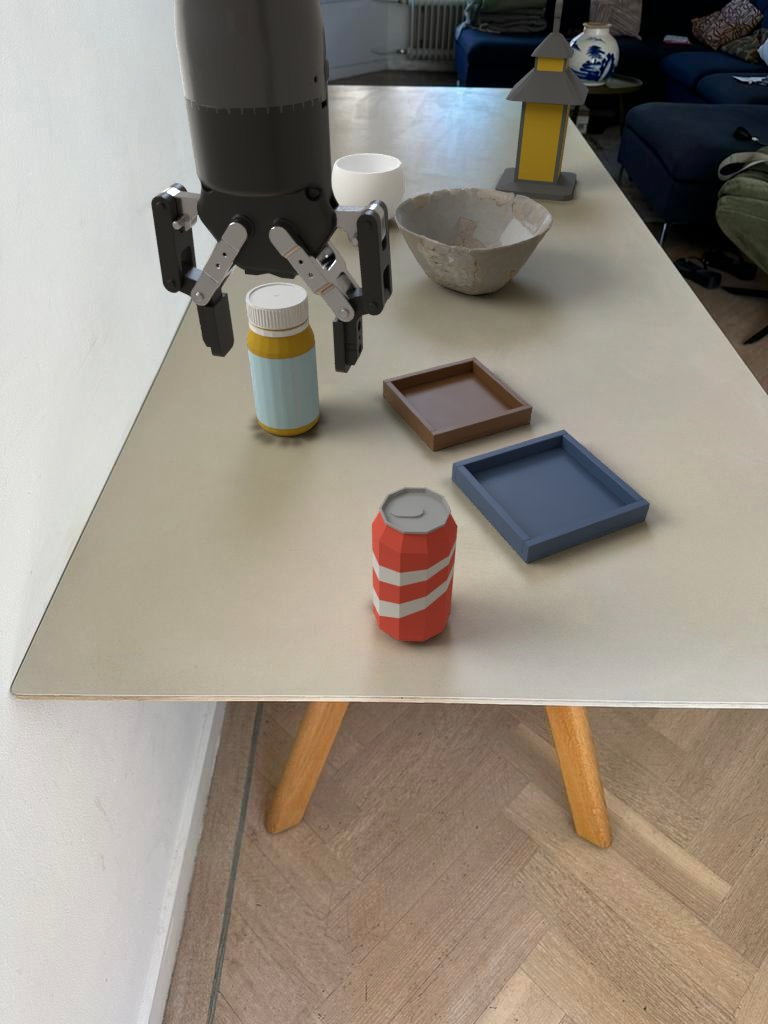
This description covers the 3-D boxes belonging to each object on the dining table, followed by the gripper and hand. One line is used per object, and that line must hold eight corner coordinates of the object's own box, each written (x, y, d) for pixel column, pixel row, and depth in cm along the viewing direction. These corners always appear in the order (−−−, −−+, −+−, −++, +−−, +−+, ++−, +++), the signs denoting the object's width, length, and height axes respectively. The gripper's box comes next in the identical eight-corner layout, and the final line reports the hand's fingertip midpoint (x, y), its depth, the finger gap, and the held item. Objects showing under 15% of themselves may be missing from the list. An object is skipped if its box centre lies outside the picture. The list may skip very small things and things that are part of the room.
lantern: (576, 177, 150) (605, -5, 130) (569, 201, 140) (600, 7, 120) (505, 171, 153) (523, -8, 133) (494, 194, 143) (511, 3, 123)
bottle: (330, 427, 84) (323, 300, 75) (273, 445, 82) (257, 317, 72) (303, 397, 89) (293, 275, 79) (248, 414, 86) (230, 289, 77)
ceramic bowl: (413, 324, 103) (415, 252, 97) (381, 257, 120) (380, 192, 114) (567, 309, 106) (579, 238, 100) (514, 246, 123) (521, 183, 117)
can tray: (645, 520, 73) (650, 503, 71) (526, 563, 68) (529, 546, 67) (561, 445, 82) (564, 429, 80) (451, 479, 77) (452, 462, 76)
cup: (322, 215, 134) (319, 157, 128) (385, 205, 138) (385, 148, 132) (350, 239, 126) (348, 178, 120) (416, 228, 130) (417, 168, 123)
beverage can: (375, 590, 66) (373, 481, 58) (448, 592, 65) (457, 483, 58) (371, 645, 61) (369, 535, 53) (450, 647, 61) (460, 538, 53)
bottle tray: (530, 423, 85) (532, 407, 84) (432, 451, 81) (433, 435, 80) (473, 371, 94) (474, 356, 92) (382, 395, 89) (382, 379, 88)
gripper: (96, 93, 38) (159, 374, 49) (368, 109, 36) (373, 402, 46) (164, 64, 44) (208, 322, 54) (404, 75, 41) (401, 345, 52)
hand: (283, 359), depth 50 cm, fingers open, 8 cm apart
